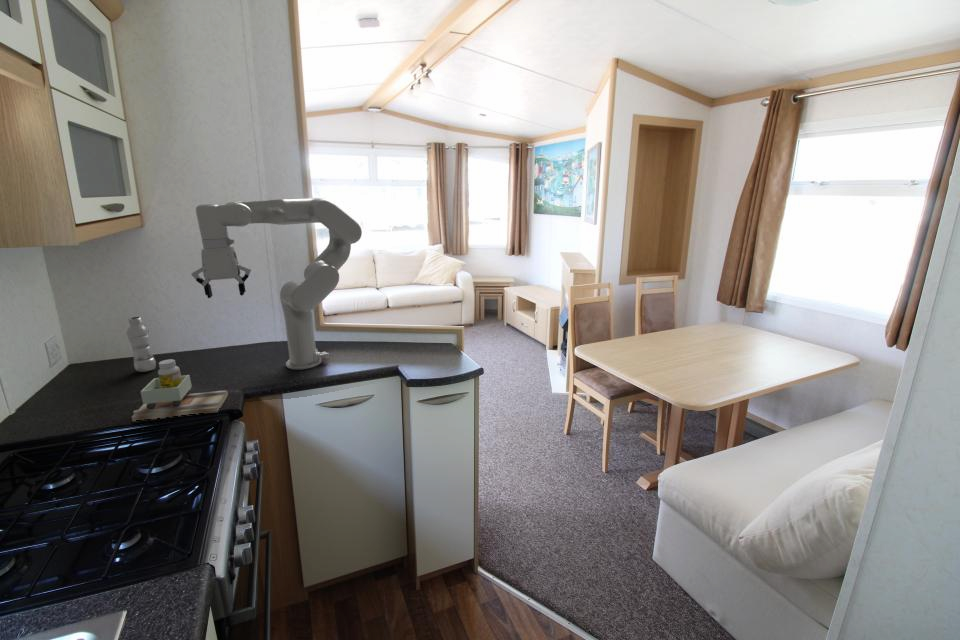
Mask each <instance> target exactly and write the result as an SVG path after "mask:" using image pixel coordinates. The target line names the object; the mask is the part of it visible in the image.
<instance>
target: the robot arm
mask: <svg viewBox="0 0 960 640" xmlns="http://www.w3.org/2000/svg"><path fill="white" fill-rule="evenodd" d="M195 213H196V218H197V223H198V224H197V225H198V229H199V233H200V236H201V237H200V238H201V242H202V246H203V248H202V249H201V253H200V254H201V255H200V256H201V267H200V268H199V269H197V270H195V271H193V272H191V276H192V278H193V279H194V280H195V281H196V282H197V283H199V284H200V285H201V286H202V287H203V289H204V294H205V296H207V298H208V299H210V298H212V297H213V290H212V286H211V284H210V281H218V280H228V279H229V280H230V279H231V280H233V279H234V280H236V281H237V282H238V285H237V286H238V291H239V295H240V296H244V295H245V293H246V286H245V282H246V281H247V280H248V278H249V276H250V275H251V271H252V269H251V268H250V267H247V266H244V265H242V264H239V263H240V262H239V261H238V257H237V253H236V251H235V248H234V246H231V245H234V244H235V239H231V238H230V237H229V232H228V227H236V228H238V227H245V226H249V225H250V224H272V225H279V226H281V225H283V226H284V225H285V226H286V225H300V224H314V223H316V224H317V223H319V224H321V225H323V226H324V227H325V228H326V229H328V235H329V241H328V244H327V246H326V248H325V249H324V250H323V251H322V252H321V253H320V254H319V255H318V256H317V257H316V258H315V259H314V260H313V261H311V262H310V263H309V264H308V265H307V266H306V267H305V269H304V270H303V271H304V272H303V277H304V281H302V282H301V281H298V280H290V281H288V282H286V283H284V284H283V286H282V287H281V289H280V292H279V297H280V298H279V299H280V304H281V307H282V312H283V316H284V324H285V332H286V333H285V334H286V339H287V348H288V356H289V359H288V360H287V361H286V362H285V367H286V368H288V369H290V370H300V371H301V370H307V369H311V368H315V367H317V366H319V365H320V364H321V363H322V359H329V358H330V353H329V352H326V351H322V352H320V351H318V348H317V347H316V339H315V330H314V321H313V320H314V319H313V314H312V313H313V312H312V311H313V310H314V309H316V307H318V305H320V304H321V303H322V302H323V301H324V300H325V299H326V298H327V297H328V296H329V295H330V294H331V293H332V292H333V291H334V290H335V289H336V287H337V285H338V284H339V281H340V273H339V270H340V269H341V268H342V267H343V265H345V263H346V262H347V261H348V259H349V257H350V254H351V249H352V244H353V245H354V244H356V243H357V242H359V240H360V239H361V238H362V233H363V232H362V227H361V225H360V224H359V223H358V222H357V221H356V220H355V219H354V218H353V217H351V216H350V215H349V214H347V212H345V211H344V210H343V209H342V208H340V207H339V206H338V205H337V204H336V203H335V202H332V200H329V199H327V198H321V197H320V198H318V197H317V198H316V197H315V198H314V197H313V198H312V197H311V198H282V199H281V198H280V199H279V198H277V199H269V200H254V201H253V200H252V201H230V202H227V203H225V204H218V203H213V204H212V203H210V204H209V203H208V204H206V203H205V204H198V205H197V206H196V207H195ZM241 271H243V272H244V275H243V276H242V275H241ZM201 273H203V276H204V279H203V278H202V277H201V276H200V275H199V274H201Z"/></svg>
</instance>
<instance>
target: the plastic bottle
mask: <svg viewBox="0 0 960 640" xmlns="http://www.w3.org/2000/svg"><path fill="white" fill-rule="evenodd" d="M128 324H129V325H130V326H129V327H128V328H127V331H126V336H127V339H128V341H129V343H130V346H131V350H132V354H133V355H132V356H133V367H134V370H135V371H137V372H139V373H147V372H149V371H153V370H155V369H156V367H157V362H156V361H157V360H156V359H155V357H154V355H153V351H152V348H151V344H150V343H151V342H150V332H149V329H148V328H147V327H146V326H145V325H144V324H143V321H142V317H141V316H133V317H128Z"/></svg>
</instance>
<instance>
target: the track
mask: <svg viewBox="0 0 960 640" xmlns="http://www.w3.org/2000/svg"><path fill="white" fill-rule="evenodd" d="M228 395H229V392H228V390H225V389H224V390H216V391H207V392H205V391H204V392H196V393H195V392H194V393H189V394H188V395H185V396H184V397H183V398H182V400H181V404H180V405H179V406H177V407H175V406H173V404H172V402H173V401H169V402H159V403H156V406H155V407H154V408H153V409H148V408H147V404H143V403H142V405H141V406H140V407H139V409H135V410H133V411H132V412H133V415H131V419H132V420H131V421H132V422H137V421H136V420H142V421H145V420H144V419H151V420H158V419H157V418H160V419H167V418H166V417H169V418H174V417H173V416H178V417H182V416H181V415H187V416H189V415H188V414H196V415H200V414H199V413H204V414H213V413H219V411H220V409H221V407H222V406H223V404H224V403H225V400H226V399H227V397H228ZM219 408H220V409H219ZM218 410H219V411H218Z"/></svg>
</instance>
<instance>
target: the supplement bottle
mask: <svg viewBox="0 0 960 640" xmlns="http://www.w3.org/2000/svg"><path fill="white" fill-rule="evenodd" d="M158 366H159V369H158V371H157V375H158V378H159V380H160V384H161V389H163V388H173V387H177V386H178V385H179V384H180V383H181V382H182V378H181V376H182V373H181V370H180V367H179V366H177V364H176V360H175V359H172V358H170V359H164V360H161V361H159V362H158Z"/></svg>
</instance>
